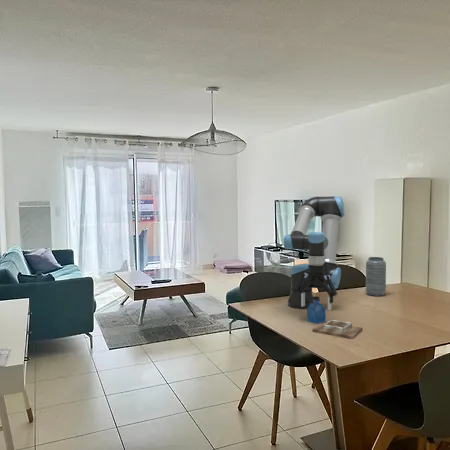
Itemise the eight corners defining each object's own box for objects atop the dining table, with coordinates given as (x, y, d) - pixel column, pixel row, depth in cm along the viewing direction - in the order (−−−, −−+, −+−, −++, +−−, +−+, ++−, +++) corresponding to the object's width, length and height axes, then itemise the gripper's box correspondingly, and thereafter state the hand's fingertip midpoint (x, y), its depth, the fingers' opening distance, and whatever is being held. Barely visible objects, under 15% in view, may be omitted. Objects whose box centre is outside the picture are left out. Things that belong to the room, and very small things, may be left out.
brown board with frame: (312, 331, 186) (312, 324, 186) (324, 323, 198) (324, 317, 198) (352, 339, 176) (352, 331, 176) (362, 330, 187) (362, 323, 187)
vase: (388, 296, 251) (389, 259, 250) (369, 296, 251) (369, 259, 250) (381, 292, 263) (382, 256, 261) (363, 292, 263) (363, 256, 262)
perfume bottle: (315, 323, 198) (315, 299, 197) (307, 320, 204) (307, 296, 203) (325, 322, 201) (325, 297, 200) (317, 318, 206) (317, 295, 206)
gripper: (289, 263, 205) (289, 305, 206) (338, 267, 190) (338, 313, 191) (296, 261, 211) (296, 303, 212) (344, 265, 196) (343, 309, 197)
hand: (316, 307), depth 201 cm, fingers open, 13 cm apart
